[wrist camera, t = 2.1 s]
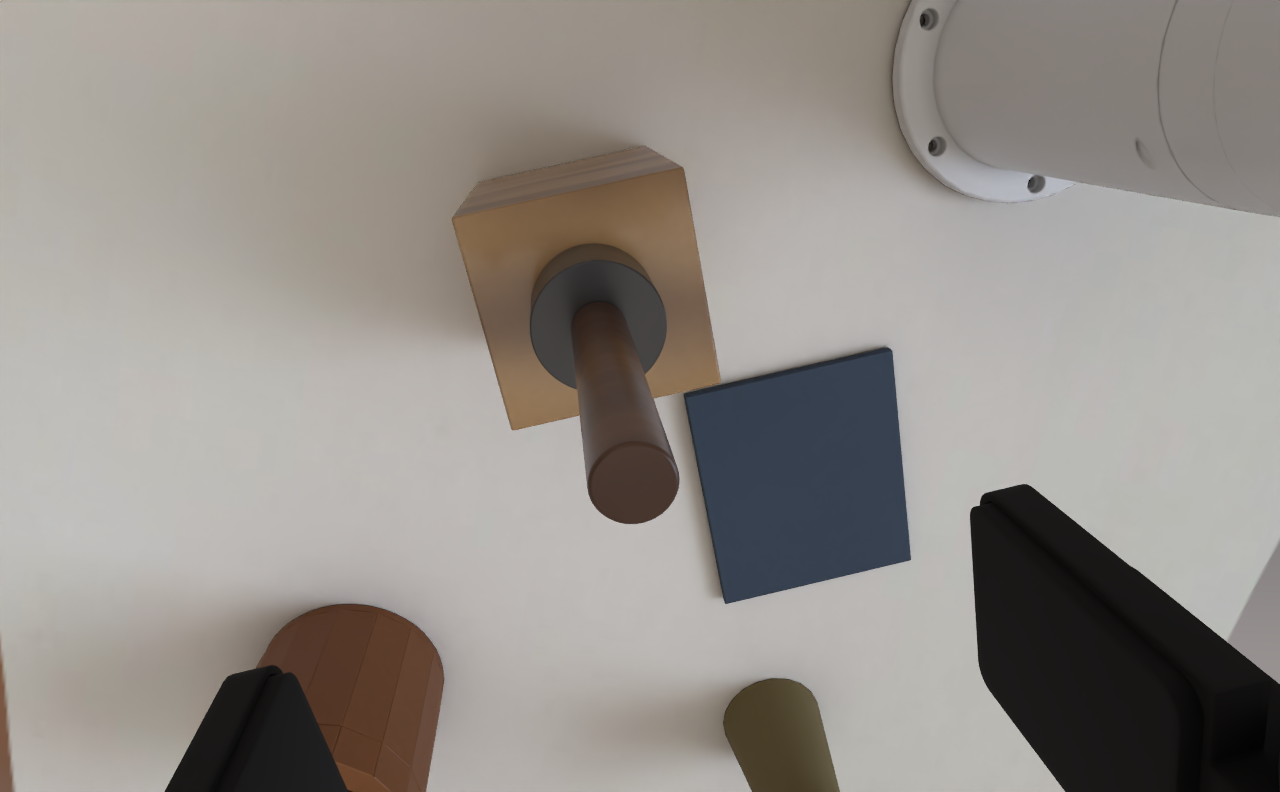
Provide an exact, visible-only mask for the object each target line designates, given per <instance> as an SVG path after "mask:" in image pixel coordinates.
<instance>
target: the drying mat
mask: <svg viewBox="0 0 1280 792" xmlns="http://www.w3.org/2000/svg"><path fill="white" fill-rule="evenodd" d="M684 398H685V403H686V409H687V414H688V419H689V424H690V429H691V434H692V439H693V445H694V450H695V455H696V460H697V465H698V470H699V475H700V481H701V486H702V491H703V496H704V501H705V506H706V511H707V517H708V522H709V527H710V532H711V537H712V542H713V547H714V553H715V558H716V563H717V568H718V573H719V578H720V583H721V588H722V594H723V599H724V601H725V603H726V604H728V603H732V602H736V601H740V600H745V599H749V598H753V597H757V596H762V595H766V594H770V593H774V592H778V591H783V590H787V589H791V588H795V587H799V586H804V585H808V584H812V583H816V582H821V581H825V580H829V579H833V578H837V577H842V576H846V575H850V574H854V573H859V572H863V571H867V570H871V569H875V568H880V567H884V566H888V565H892V564H896V563H901V562H905V561H909V560H911V556H910V545H909V533H908V522H907V511H906V500H905V489H904V477H903V466H902V455H901V444H900V433H899V421H898V410H897V399H896V388H895V377H894V365H893V354H892V350H891V349H889V348H888V347H887V348H883V349H878V350H874V351H870V352H865V353H861V354H856V355H852V356H848V357H843V358H839V359H835V360H830V361H826V362H822V363H817V364H813V365H808V366H804V367H800V368H795V369H791V370H787V371H782V372H778V373H774V374H769V375H765V376H760V377H756V378H752V379H747V380H743V381H739V382H734V383H730V384H725V385H721V386H717V387H712V388H708V389H704V390H699V391H695V392H691V393H686V394H684Z"/></svg>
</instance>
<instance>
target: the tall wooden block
mask: <svg viewBox="0 0 1280 792" xmlns="http://www.w3.org/2000/svg"><path fill="white" fill-rule="evenodd" d="M452 222H453V226H454V229H455V233H456V236H457V240H458V243H459V247H460V250H461V254H462V257H463V261H464V264H465V268H466V272H467V275H468V279H469V282H470V286H471V289H472V293H473V296H474V300H475V303H476V307H477V310H478V314H479V317H480V321H481V324H482V328H483V331H484V335H485V338H486V342H487V345H488V349H489V352H490V356H491V359H492V363H493V366H494V370H495V373H496V377H497V380H498V384H499V387H500V391H501V394H502V398H503V401H504V405H505V408H506V412H507V415H508V419H509V422H510V426H511V429H512V430H518V429H522V428H526V427H531V426H535V425H540V424H544V423H548V422H553V421H557V420H561V419H566V418H570V417H575V416H579V415H580V413H579V403H578V394H577V389H574V388H571V387H569V386H567V385H565V384H563V383H561V382H560V381H558V380H557V379H555V378H554V377H553V376H552V375H551V374H549V373H548V371H547V370H546V369H545V368H544V367H543V366H542V364H541V363H540V361H539V360H538V358H537V356H536V354H535V352H534V349H533V346H532V343H531V338H530V311H531V297H532V292H533V288H534V285H535V282H536V280H537V278H538V276H539V274H540V272H541V271H542V270H543V268H544V267H545V266H546V265H547V263H548V262H549V261H550V260H551V259H553V258H554V257H555V256H556V255H558V254H559V253H561V252H563V251H564V250H567V249H569V248H571V247H574V246H578V245H582V244H592V243H598V244H606V245H610V246H614V247H616V248H619V249H621V250H623V251H625V252H627V253H628V254H630V255H631V256H632V257H634V258H635V259H636V260H637V261H638V262H639V263H640V264H641V265H642V267H643V268H644V269H645V270H646V272H647V274H648V276H649V277H650V279H651V281H652V283H653V284H654V286H655V288H656V290H657V292H658V294H659V295H660V297H661V300H662V302H663V304H664V308H665V312H666V318H667V333H666V339H665V343H664V346H663V349H662V351H661V353H660V356H659V357H658V359H657V361H656V362H655V364H654V365H653V366H652V367H651V369H650V370H649V371H648V372H647V373H646V374H645V376H646V379H647V382H648V385H649V388H650V391H651V394H652V397H653V398H658V397H662V396H666V395H671V394H675V393H679V392H684V391H688V390H692V389H697V388H701V387H706V386H710V385H714V384H719V383H720V382H721V378H720V373H719V367H718V361H717V356H716V350H715V344H714V338H713V333H712V327H711V321H710V316H709V310H708V304H707V298H706V293H705V287H704V281H703V276H702V270H701V264H700V258H699V253H698V247H697V241H696V235H695V230H694V224H693V218H692V213H691V207H690V201H689V195H688V190H687V184H686V178H685V173H684V168H683V167H682V166H680V165H678V164H676V163H675V162H673V161H671V160H669V159H668V158H666V157H664V156H662V155H661V154H659V153H657V152H655V151H654V150H652V149H650V148H648V147H647V146H641V147H637V148H632V149H628V150H623V151H619V152H614V153H609V154H605V155H600V156H596V157H591V158H587V159H582V160H578V161H573V162H568V163H564V164H559V165H555V166H550V167H546V168H541V169H536V170H532V171H527V172H523V173H518V174H514V175H509V176H505V177H500V178H495V179H491V180H486V181H482V182H478V183H477V184H476V185H475V187H474V188H473V190H472V191H471V192H470V194H469V195H468V197H467V198H466V199H465V201H464V202H463V204H462V205H461V206H460V208H459V209H458V211H457V212H456V213H455V215H454V216H453V218H452Z"/></svg>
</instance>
